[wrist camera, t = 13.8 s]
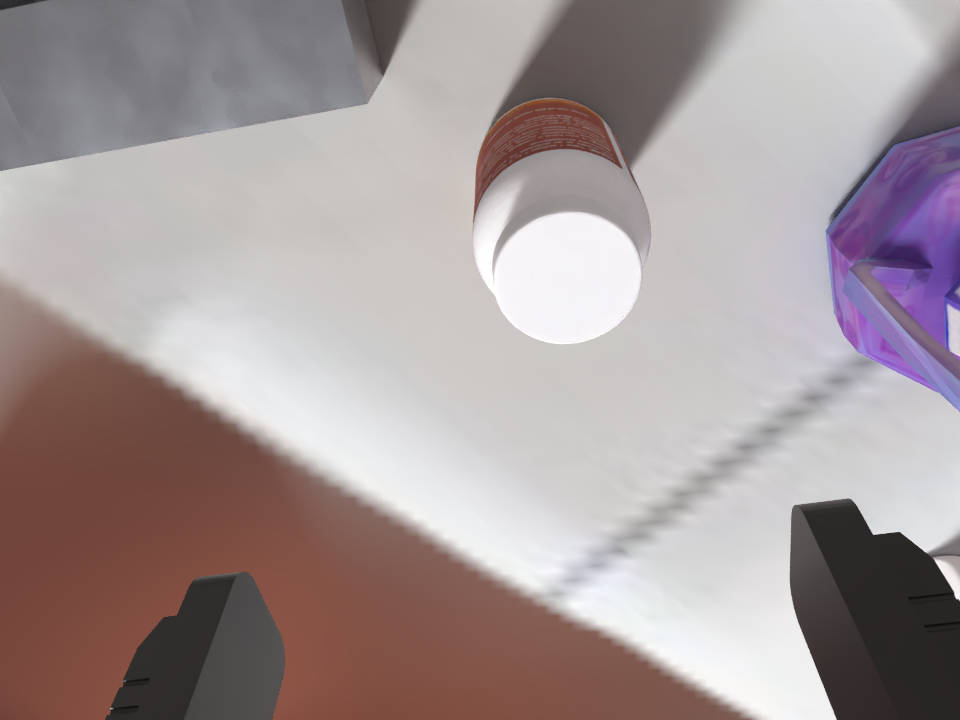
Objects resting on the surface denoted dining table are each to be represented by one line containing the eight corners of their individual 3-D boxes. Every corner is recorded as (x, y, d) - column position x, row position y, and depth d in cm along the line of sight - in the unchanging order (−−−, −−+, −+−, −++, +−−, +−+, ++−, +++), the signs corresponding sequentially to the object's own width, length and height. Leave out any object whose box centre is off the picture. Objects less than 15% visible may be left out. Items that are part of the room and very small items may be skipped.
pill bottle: (446, 168, 34) (425, 281, 25) (550, 61, 32) (571, 140, 22) (546, 261, 36) (562, 397, 27) (650, 167, 34) (708, 280, 24)
